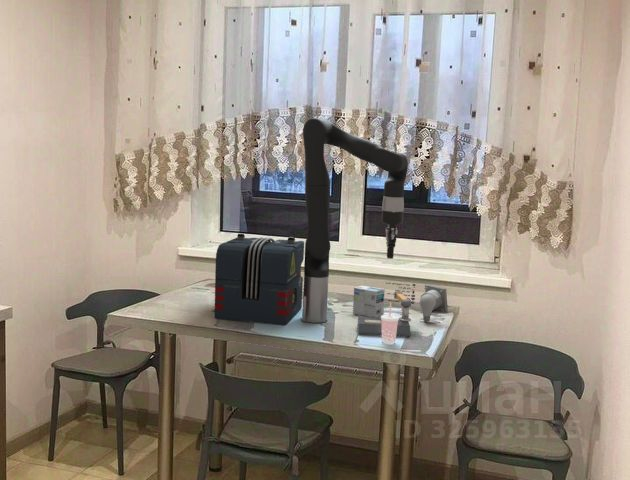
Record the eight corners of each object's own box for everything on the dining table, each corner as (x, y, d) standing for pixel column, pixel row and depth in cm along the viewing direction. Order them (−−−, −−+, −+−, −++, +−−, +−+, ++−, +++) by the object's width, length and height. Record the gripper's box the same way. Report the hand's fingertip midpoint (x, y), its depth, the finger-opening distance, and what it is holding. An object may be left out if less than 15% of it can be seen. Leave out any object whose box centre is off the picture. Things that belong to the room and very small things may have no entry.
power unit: (285, 325, 246) (288, 244, 242) (213, 319, 251) (215, 239, 247) (301, 308, 273) (304, 235, 269) (236, 302, 278) (238, 230, 274)
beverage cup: (396, 345, 227) (399, 305, 225) (378, 344, 228) (380, 303, 226) (397, 340, 233) (400, 301, 231) (380, 339, 234) (382, 299, 232)
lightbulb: (426, 324, 255) (428, 296, 254) (415, 321, 260) (416, 293, 259) (437, 323, 259) (439, 295, 258) (426, 319, 264) (428, 291, 262)
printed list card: (447, 308, 285) (449, 285, 283) (447, 314, 274) (449, 290, 272) (385, 302, 290) (386, 280, 289) (382, 308, 279) (383, 285, 278)
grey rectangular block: (358, 334, 238) (359, 308, 237) (357, 327, 248) (358, 302, 247) (412, 337, 238) (413, 311, 237) (409, 329, 248) (410, 304, 247)
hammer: (393, 298, 257) (393, 291, 256) (402, 298, 257) (402, 292, 257) (402, 307, 242) (402, 300, 242) (412, 307, 243) (412, 300, 242)
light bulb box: (383, 315, 268) (385, 288, 266) (375, 318, 262) (377, 291, 261) (360, 310, 274) (362, 284, 272) (352, 313, 268) (353, 287, 267)
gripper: (380, 207, 244) (378, 254, 246) (383, 210, 231) (380, 260, 233) (401, 208, 244) (398, 255, 246) (405, 211, 230) (402, 261, 233)
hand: (389, 258), depth 239 cm, fingers closed
